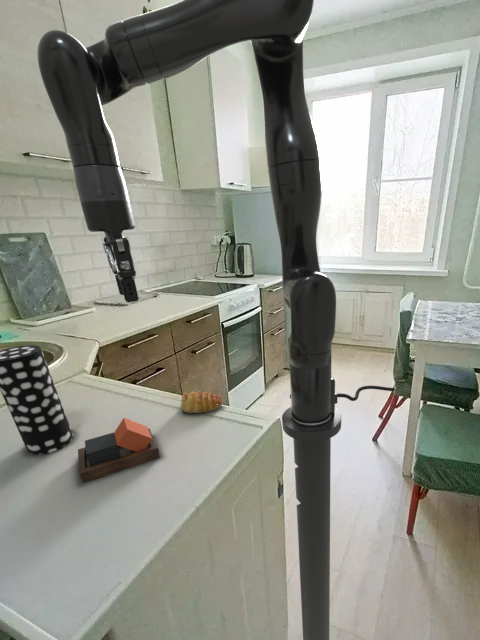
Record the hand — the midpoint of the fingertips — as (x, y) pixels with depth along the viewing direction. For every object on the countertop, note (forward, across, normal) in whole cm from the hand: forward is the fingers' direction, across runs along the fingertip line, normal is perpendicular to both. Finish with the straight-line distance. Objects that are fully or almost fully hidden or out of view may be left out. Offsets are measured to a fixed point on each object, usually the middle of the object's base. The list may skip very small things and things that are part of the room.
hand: (129, 297), depth 66 cm
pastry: (+28, +3, -10) cm, 30 cm away
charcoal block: (+27, -8, +11) cm, 30 cm away
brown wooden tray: (+28, -8, +9) cm, 30 cm away
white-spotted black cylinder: (+28, +6, +21) cm, 36 cm away
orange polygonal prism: (+25, -8, +7) cm, 27 cm away
